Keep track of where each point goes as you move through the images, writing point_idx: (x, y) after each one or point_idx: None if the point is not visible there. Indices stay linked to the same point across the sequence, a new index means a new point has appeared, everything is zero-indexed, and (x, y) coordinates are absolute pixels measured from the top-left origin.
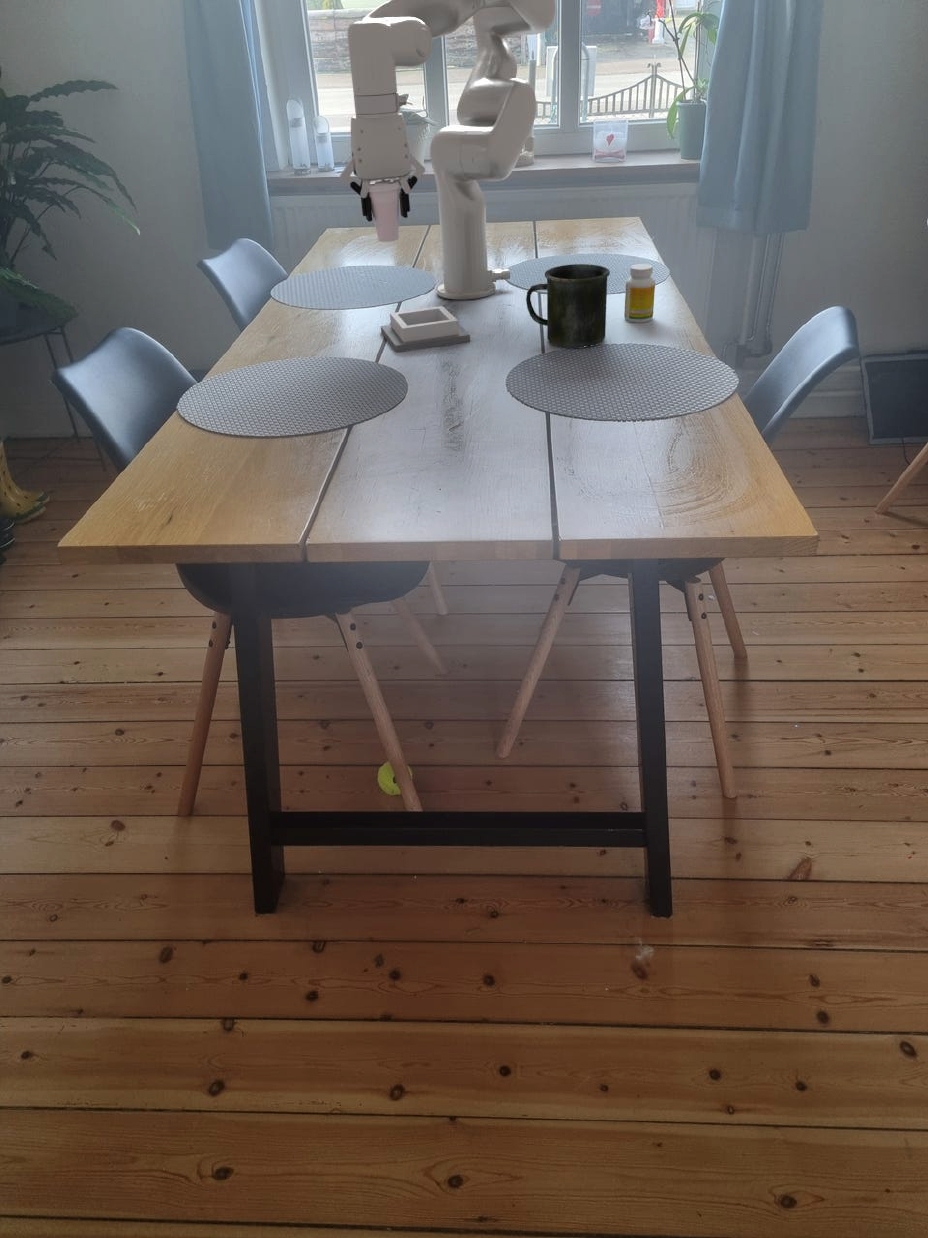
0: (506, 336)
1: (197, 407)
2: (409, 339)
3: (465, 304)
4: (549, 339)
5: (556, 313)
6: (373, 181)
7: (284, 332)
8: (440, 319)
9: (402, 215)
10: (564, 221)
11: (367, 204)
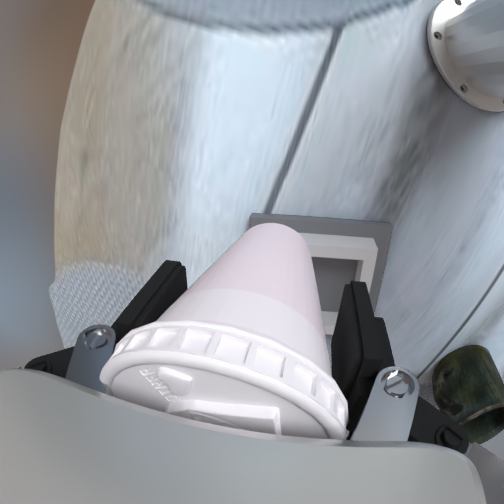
0: (418, 326)
1: (66, 338)
2: None
3: (456, 126)
4: (434, 373)
5: (439, 408)
6: (148, 360)
7: (98, 136)
8: (359, 261)
9: (336, 322)
10: None
11: None
